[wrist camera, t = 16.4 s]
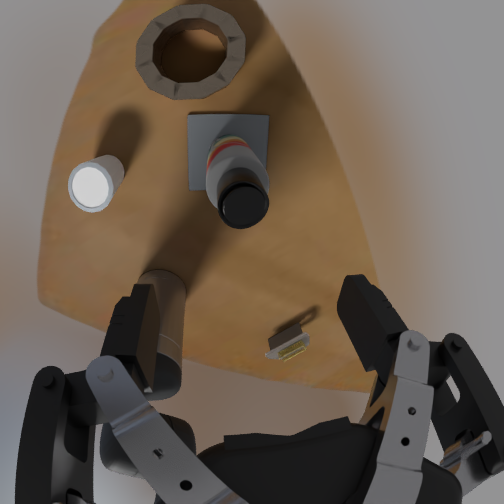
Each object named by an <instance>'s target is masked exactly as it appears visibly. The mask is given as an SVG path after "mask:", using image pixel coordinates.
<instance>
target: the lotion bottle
mask: <svg viewBox="0 0 504 504" xmlns="http://www.w3.org/2000/svg"><path fill="white" fill-rule="evenodd" d="M206 191H207V195H208V197H209V199H210V201H211V202H212V204H213V205H214V206H215V207H216V208H217V209H218V212H219V215H220V217H221V219H222V220H223V222H224V223H225V224H227V225H228V226H230V227H232V228H236V229H245V228H249V227H251V226H253V225H255V224H257V223H258V222H259V221H261V220H262V218H263V217H264V216H265V214H266V213H267V211H268V207H269V198H268V195H267V194H268V191H269V177H268V174H267V172H266V170H265V168H264V166H263V165H262V163H261V162H260V161H259V159H258V158H257V156H256V155H255V154H254V152H253V151H252V150H251V148H250V147H249V146H248V144H247V143H246V142H245V141H244V140H243V139H242V138H240V137H239V136H236V135H233V134H226V135H222V136H220V137H218V138H216V139H215V140H214V141H213V142H212V144H211V145H210V147H209V151H208V159H207V172H206Z"/></svg>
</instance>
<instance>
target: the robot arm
mask: <svg viewBox="0 0 504 504" xmlns="http://www.w3.org/2000/svg"><path fill="white" fill-rule="evenodd" d="M185 300H186V288H185V285H184V283H183V282H182V280H181V279H180V278H179V277H178V276H176V275H175V274H173V273H171V272H168V271H164V270H152V271H149V272H146V273H145V274H143V275H142V276H141V277H140V278H139V280H138V282H137V284H134V286H133V289H132V293H131V296H130V297H122V298H121V299H120V301H119V302H118V303H117V304H116V305H115V308H114V311H113V314H112V317H111V320H110V325H109V327H108V330H107V333H106V336H105V340H104V343H103V347H102V350H101V354H100V357H98V358H96V359H94V360H93V361H92V362H91V363H90V364H89V365H88V367H87V369H86V370H84V371H80V372H74V373H69V374H64V373H63V372H62V370H61V369H60V368H58V367H55V366H47V367H45V368H42V369H41V370H40V371H39V372H38V373H37V374H36V376H35V378H34V381H33V384H32V388H31V392H30V395H29V399H28V404H27V408H26V412H25V417H24V422H23V427H22V432H21V438H20V445H19V452H18V460H17V470H16V483H15V504H96V503H94V501H93V461H94V441H95V428H96V425H98V424H103V427H102V432H101V439H100V457H101V460H102V463H103V465H104V466H105V467H106V468H107V469H108V470H110V471H113V472H116V473H119V474H123V475H128V476H131V477H136V478H141V479H145V480H146V481H147V482H148V483H149V484H150V485H151V487H152V488H153V489H154V490H155V492H156V498H155V502H154V504H462V497H463V496H464V495H466V494H467V493H469V492H470V491H472V490H473V489H474V488H476V487H477V486H478V485H480V484H481V483H482V482H483V481H485V480H487V479H489V478H491V477H493V476H494V475H496V474H498V473H500V472H501V471H503V470H504V406H503V404H502V402H501V400H500V398H499V396H498V395H497V392H496V391H495V389H494V387H493V385H492V383H491V381H490V380H489V378H488V376H487V375H486V373H485V371H484V369H483V368H482V366H481V364H480V363H479V361H478V359H477V358H476V356H475V355H474V353H473V351H472V350H471V349H470V347H469V345H468V344H467V342H466V341H465V340H464V338H462V337H461V336H460V335H458V334H454V333H449V334H447V335H446V336H445V338H444V339H443V340H442V342H431V341H428V340H427V339H426V337H425V336H424V335H422V334H421V333H419V332H417V331H413V330H409V329H408V328H407V326H406V325H405V323H404V322H403V321H402V319H401V318H400V316H399V315H398V313H397V312H396V310H395V309H394V308H392V305H391V303H390V302H389V301H388V299H387V298H386V296H385V295H384V293H383V292H382V291H381V290H380V289H378V288H377V287H376V286H374V285H371V284H370V283H369V281H368V280H367V278H366V277H365V276H364V275H363V274H359V275H347V276H346V277H345V279H344V282H343V285H342V289H341V292H340V295H339V298H338V302H337V312H338V315H339V318H340V320H341V321H342V323H343V325H344V327H345V329H346V331H347V333H348V336H349V338H350V340H351V342H352V344H353V346H354V348H355V350H356V352H357V354H358V356H359V358H360V360H361V362H362V364H363V367H364V369H365V371H366V372H368V371H372V370H376V371H377V375H376V376H375V379H374V383H373V386H372V390H371V393H370V397H369V400H368V403H367V406H366V409H365V412H364V414H363V416H362V418H361V419H360V421H359V423H358V424H357V423H350V421H349V418H348V417H347V416H346V417H343V418H339V419H334V420H331V421H326V422H321V423H319V424H317V425H314V426H312V427H310V428H308V429H306V430H304V431H302V432H299V433H297V434H295V435H291V436H283V435H270V434H261V433H251V434H240V435H225V436H224V442H223V443H219V444H216V445H214V446H212V447H209V448H208V449H206V450H204V451H202V452H201V453H200V454H198V455H197V456H196V443H195V436H194V433H193V430H192V428H191V426H190V425H189V424H188V423H187V422H186V421H184V420H182V419H179V418H176V417H173V416H169V415H165V414H162V413H158V412H157V411H156V409H155V408H154V407H153V406H151V405H150V403H149V402H148V401H153V400H163V399H167V398H170V397H172V396H174V395H175V394H176V393H177V392H178V391H179V389H180V387H181V375H182V347H183V328H184V313H185ZM450 376H452V378H453V380H454V382H455V384H456V386H457V388H458V389H459V391H460V399H459V401H458V402H456V400H455V398H454V396H453V394H452V392H451V390H450V388H449V386H448V384H447V382H446V380H447V379H448V378H449V377H450ZM430 419H431V420H432V423H433V425H434V427H435V430H436V432H437V435H438V438H439V440H440V443H441V445H442V448H443V451H444V457H443V459H442V460H441V462H440V466H439V465H437V464H435V463H433V462H431V461H429V460H428V459H426V458H424V457H423V456H424V451H425V447H426V442H427V436H428V431H429V425H430Z"/></svg>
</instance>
